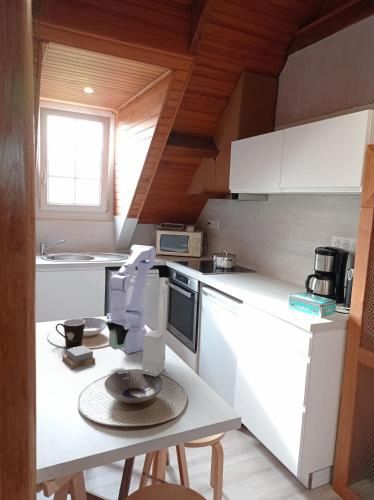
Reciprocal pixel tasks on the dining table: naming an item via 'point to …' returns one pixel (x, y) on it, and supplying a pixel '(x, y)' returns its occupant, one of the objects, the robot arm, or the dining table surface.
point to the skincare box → (154, 351)
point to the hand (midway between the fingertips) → (117, 342)
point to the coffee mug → (73, 332)
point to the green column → (115, 340)
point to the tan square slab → (77, 364)
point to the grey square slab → (79, 353)
